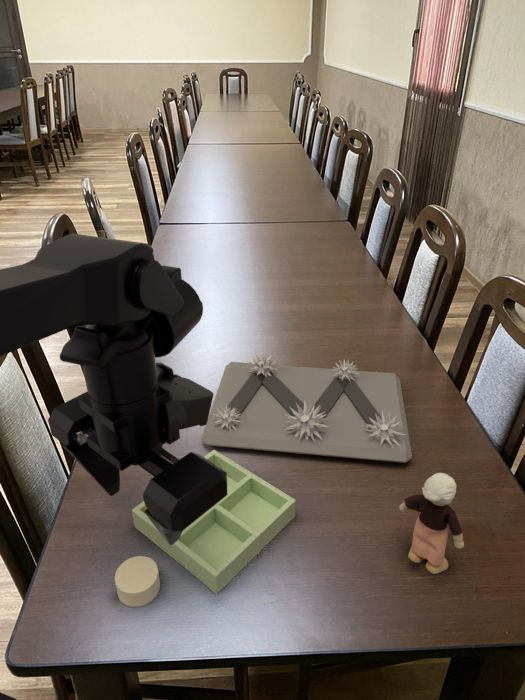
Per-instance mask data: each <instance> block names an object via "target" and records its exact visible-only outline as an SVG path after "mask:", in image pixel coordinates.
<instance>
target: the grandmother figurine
mask: <svg viewBox="0 0 525 700" xmlns="http://www.w3.org/2000/svg"><path fill="white" fill-rule="evenodd" d="M421 490H422V494H419V493H418V494H414V495H411V496H408V497H406V498H404V501H402V503H400V504H399V506H398V509H399V511H400V512H401V513H403V514H406V513H407V512H408V511H409V510H413V511H416V512H418V513H419V514H418V516H417V518H416V521H415V523H414V529H413V531H412V532H413V533H412V541H411V547H410V549H409V552H408V559H409V560H410V561H411V562H413V563H415V564H420V563H422V562H423V561H424V560H427V562H426V563H425V569H426V570H427V571H428V572H429V573H430V574H433V575H437V574H440V573H442V572H444V571H446V570H447V569H448V568H449V562H448V560H447V558H446V557H445V554H446V548H447V543H448V537H449V536H448V535H449V531H450V534H451V536H452V540H453V545H454V547H455V548H456V549H457V550H462V549H464V547H465V542H464V535H463V529H462V528H463V527H462V526H461V523H460V521H459V518H458V516H457V513H456V512H455V510H454V509H453V508H452V507H451V506H449V504H451V503H453V499H454V498H455V497H456V493H457V483H456V482H455V479H454V477H452V476H450V475H449V474H447V473H444V472H437V473H434V474H433V475H431V476H429V477H428V478H427V479H426V480H425V481H424V484H423V487H421ZM448 530H449V531H448Z"/></svg>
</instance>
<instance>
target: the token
mask: <svg viewBox="0 0 525 700" xmlns="http://www.w3.org/2000/svg"><path fill="white" fill-rule="evenodd" d="M114 584H115V588H116V593H117V597H118V599H119V601H120V602H121V603H122V604H123V605H125V606H127V607H130V608H140V607H144V606H146V605H148V604H149V603H151V602H153V600H155V598H156V597H157V596H158V594H159V592H160V590H161V580H160V572H159V567H158V564H157V563H156V561H154V559H152V558H150V557H149V556H148V557H147V556H144V555H137V556H133V557H129V558H128V559H126V560H124V561H123V562H122V563H121V564H119V566H118V567H117V569H116V571H115V574H114Z"/></svg>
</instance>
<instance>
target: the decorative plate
mask: <svg viewBox="0 0 525 700" xmlns="http://www.w3.org/2000/svg"><path fill="white" fill-rule="evenodd" d="M255 356H256V358H254V357H251V359H252V361H253V362H252V361H248V362H241V361H240V362H238V361H230V362H228V364H226V365H225V367H224V371H223V373H222V377H221V379H220V382H219V386H218V389H217V391H216V394H215V397H214V400H213V402H212V405H211V408H210V413H209V417H208V421H207V424H206V425H204V426H205V427H204V429H203V433H202V435H201V437H200V439H201V441H202V442H203V443H204V444H205V446H208V447H220V448H231V449H232V448H233V449H241V450H242V449H243V450H256V451H265V452H266V451H267V452H276V453H289V454H298V455H299V454H300V455H311V456H321V457H334V458H344V459H356V460H366V461H367V460H368V461H378V462H390V463H400V464H401V463H402V464H406V463H407V462H408V461H411V459H413V452H412V446H411V440H410V434H409V427H408V421H407V415H406V409H405V403H404V397H403V391H402V385H401V380H400V377H398V375H396V373H392V372H379V371H364V370H358V366H357V364H355V365H354V361H352V362H351V363H350V360H349V359H350V358H348V359H347V360H346V361H345V359H343V362H342V361H341V360H340V359H339V360H338V361H339V364H340V365H339V364H338V363H335V366H336V367H335V366H332V368H324V367H323V368H321V367H310V366H295V365H282V364H279V363H277V361H274V359H273V358H274V356H272V355H270V356H269V355H268V356H267V352H265V353H264V354H263V353H262V351H261V352H260V356H258V355H257V353H255Z"/></svg>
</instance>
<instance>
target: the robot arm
mask: <svg viewBox="0 0 525 700" xmlns="http://www.w3.org/2000/svg"><path fill="white" fill-rule="evenodd" d="M203 312H204V304H203V302H202V300H201V298H200V296H199V294H198V293H197V291H196V289H194V287H193V286H192V285H191V284H189V282H187V281H185V280H184V279H182V269H181V268H180V267H176V266H169V265H162V264H161V262H159V261H158V260H156V259H155V255H154V248H153V246H152V245H150V244H149V243H146V242H138V241H131V240H126V239H125V240H123V239H117V238H109V237H102V236H95V235H88V234H81V233H70V234H67V235H65V236H62V237H60V238H57V239H56V240H54V241H52V242H49V243H47V244H45V245H43V246H41V247H40V248H39V250H38V251H37V252H36V254H35V257H34V258H33V259H31V260H29V261H27V262H25V263H23V264H19V265H14V266H10V267H4V268H1V269H0V357H3V356H5V355H7V354H10V353H13V352H15V351H17V350H19V349H22V348H25V347H27V346H29V345H31V344H34V343H36V342H39V341H40V340H45V339H46V338H48V337H51V336H53V335H55V334H58V333H60V332H63V331H66V330H68V329H70V328H73V327H75V328H74V331H73V334H72V335H71V337H70V339H69V340H68V341H67V342H66V343H64V345H63V347H62V349H61V352H60V353H59V360H60V361H61V362H63V363H67V364H72V365H73V364H74V365H77V366H82V371H83V376H84V381H85V386H86V390H87V391H86V392H83V393H81V394H79V395H78V396H75V397H73V398H71V399H69V400H67V401H65V402H63V403H61V404H60V405H57V406H55V407H54V408H53V410H52V412H51V413H50V415H49V417H48V419H47V423H48V426H49V430H50V431H49V432H50V435H51V436H52V437H53V438H55V439H56V440H57V441H59V444H60V446H61V447H62V448H63V449H65V450H66V451H67V453H68V454H69V455H70V456H71V457H72V458H73V459H74V460H75V461H76V462H77V463H78V464H79V465H80V467H82V468H83V469H84V471H86V472H87V474H89V476H91V478H92V479H93V480H94V481H95V482H96V483H97V484H98V485H99V486H100V487H101V488H102V489H103V490H104V491H105V492H106V494H107V495H108V496H110V497H114V496H115V495H116V494H118V493H119V492H120V489H121V488H120V487H121V475H120V472H124V471H125V470H126V469H127V468H129V467H131V466H134V467H135V466H138V467H140V468H141V469H143V470H144V471H146V473H148V474H150V475H151V476H153V477H152V478H151V479H150V480H149V482H148V484H147V485H146V487H145V490H144V491H143V493H142V497H143V501H144V503H145V505H146V507H147V508H148V509H146V510H145V513H146V515H147V516H148V517H149V519H150V520H151V521H152V523H153V524H154V526H155V527H156V528H157V530H158V531H159V532H160V534H161V535H162V537H163V538H164V539H165V540H166V542H167V543H168V544H169V545H173V544H174V543H175V542H176V541H178V540H179V538H180V536H181V534H182V531H183V530H184V529H186V528H187V527H188V526H189V525H191V524H192V523H193V522H194V521H196V520H197V519H198V518H199V517H201V516H202V515H203V514H204V513H206V512H207V511H208V510H209V509H211V508H212V507H213V506H214V505H215V504H217V503H218V502H219V501H220V500H222V499H223V498H224V497H225V496H227V472H225V471H224V470H222V469H221V468H219V467H218V466H216V465H215V464H213V463H212V462H210V461H209V460H207V459H206V458H204V457H205V456H202V455H201V454H199V453H196V452H193V451H190V452H188V453H187V454H186V455H184V456H183V457H181V458H178V457H177V456H175V455H174V454H173V453H170V452H169V451H168V450H166V448H165V449H164V448H163V447H164V445H165V444H167V445H169V446H170V445H172V444H174V443H175V442H176V441H178V440H180V439H181V434H180V430H185V429H189V428H193V427H197V426H200V427H204V426H206V424H207V421H208V417H209V414H210V411H211V408H212V405H213V399H214V392H213V391H212V390H210V389H208V388H207V387H205V386H202V385H201V384H199V383H197V382H196V381H193V380H191V379H190V378H187V377H183V376H181V375H179V374H177V373H175V372H174V370H173V368H172V367H170V366H168V365H166V364H164V363H163V362H156V358H162V357H166V356H167V355H169V354H171V353H172V352H173V350H174V349H175V348H177V346H179V344H180V343H181V342H182V341H183V340H184V339H186V337H187V336H188V335H189V334H190V333H191V331H193V329H194V328H195V327H197V325H198V324H199V323H200V322H201V321H202V317H203V314H204V313H203ZM84 326H86V327H84ZM0 700H18V699H17V698H15V697H13V696H10V695H8V694H5V693H3V692H1V691H0Z"/></svg>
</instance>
